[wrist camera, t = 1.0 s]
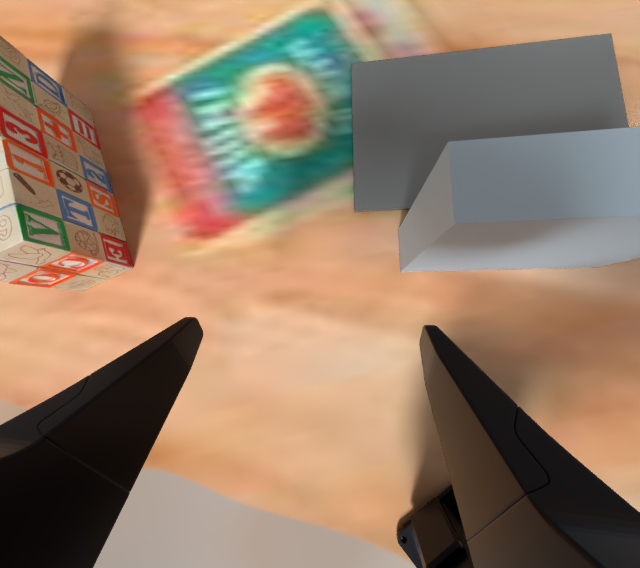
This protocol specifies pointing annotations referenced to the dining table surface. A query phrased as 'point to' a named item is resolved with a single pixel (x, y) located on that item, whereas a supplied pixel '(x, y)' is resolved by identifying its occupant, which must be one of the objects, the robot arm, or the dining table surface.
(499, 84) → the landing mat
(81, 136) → the stack of blocks
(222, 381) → the dining table surface
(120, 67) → the dining table surface
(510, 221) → the blue slab
